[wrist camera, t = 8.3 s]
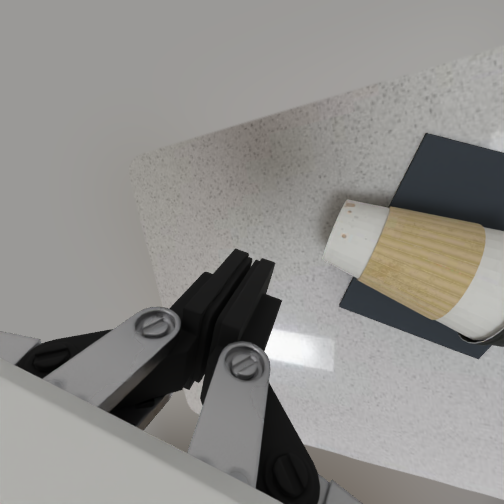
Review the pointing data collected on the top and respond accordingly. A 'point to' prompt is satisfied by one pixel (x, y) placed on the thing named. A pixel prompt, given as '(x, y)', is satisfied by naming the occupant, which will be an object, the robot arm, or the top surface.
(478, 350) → the mat
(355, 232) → the coffee cup
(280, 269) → the top surface
